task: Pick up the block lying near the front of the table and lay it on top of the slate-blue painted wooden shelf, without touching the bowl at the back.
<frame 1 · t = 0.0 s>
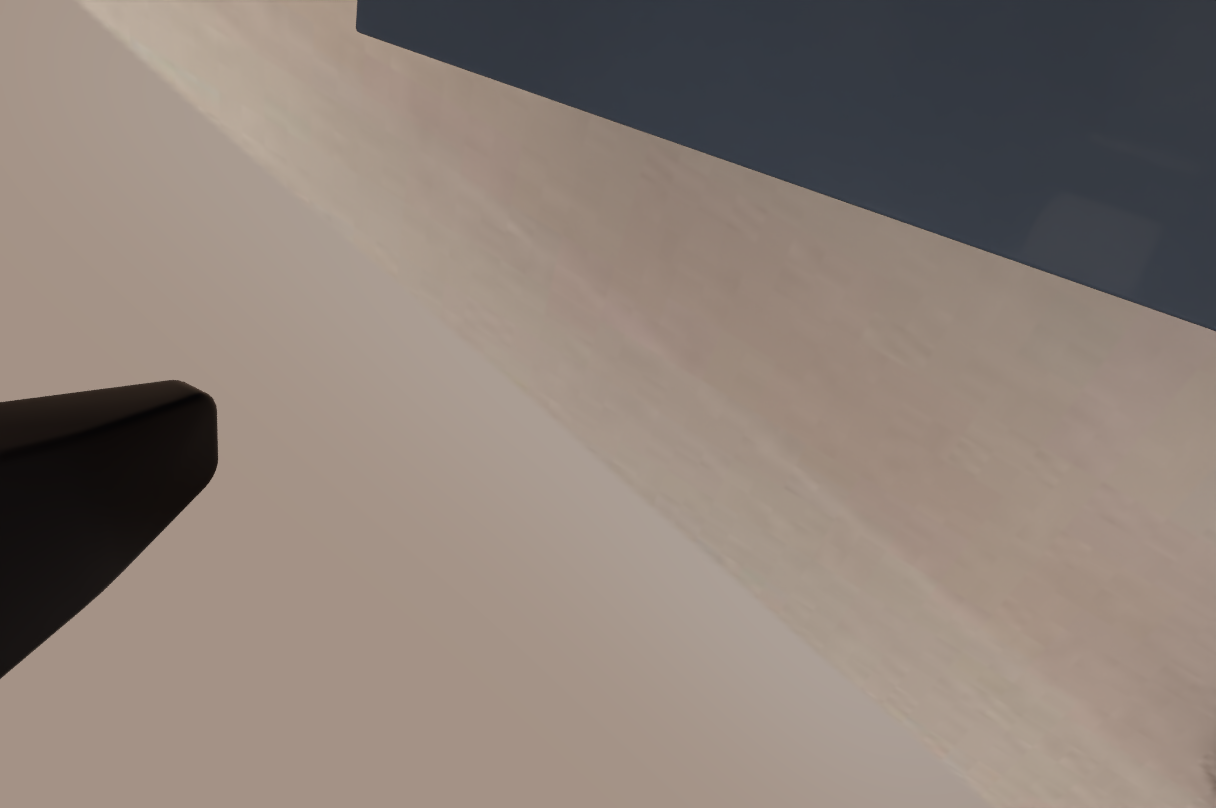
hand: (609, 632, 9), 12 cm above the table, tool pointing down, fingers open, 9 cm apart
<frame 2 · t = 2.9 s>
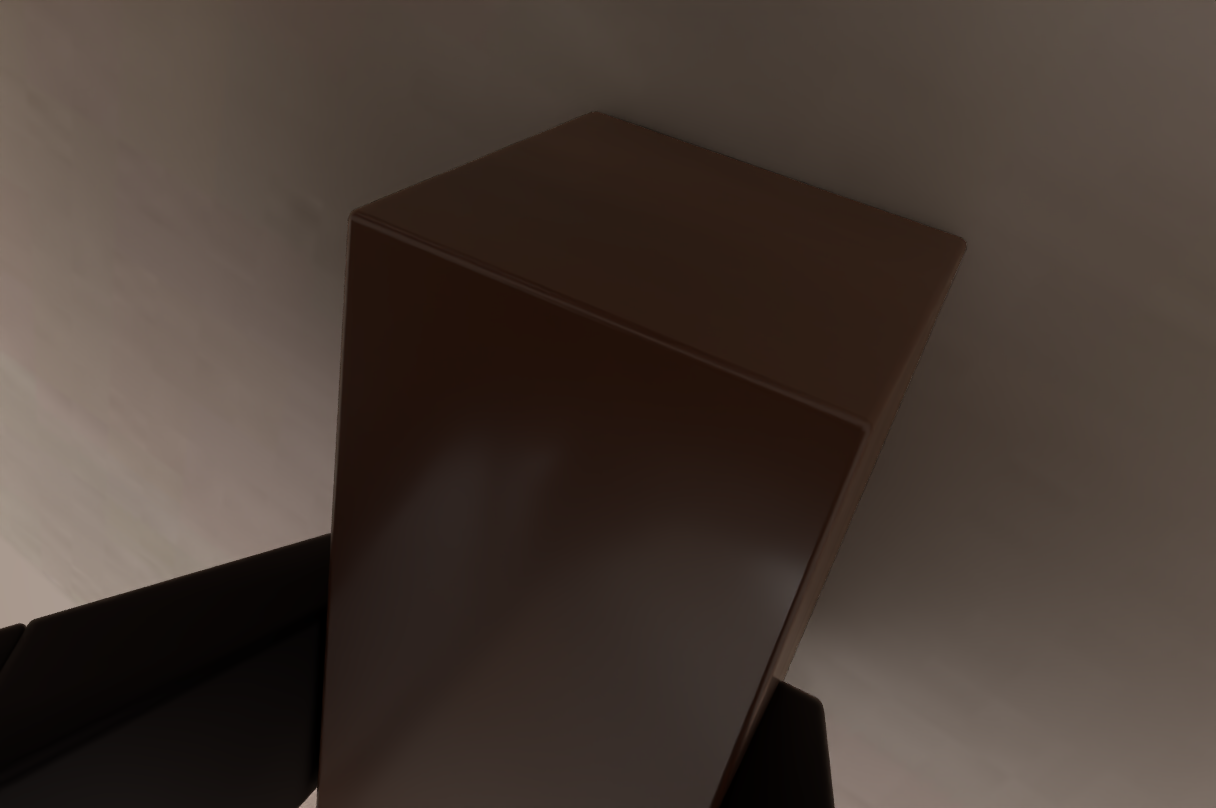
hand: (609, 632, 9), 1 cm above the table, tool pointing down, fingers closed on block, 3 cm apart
block: (654, 567, 9), on the table, touching gripper
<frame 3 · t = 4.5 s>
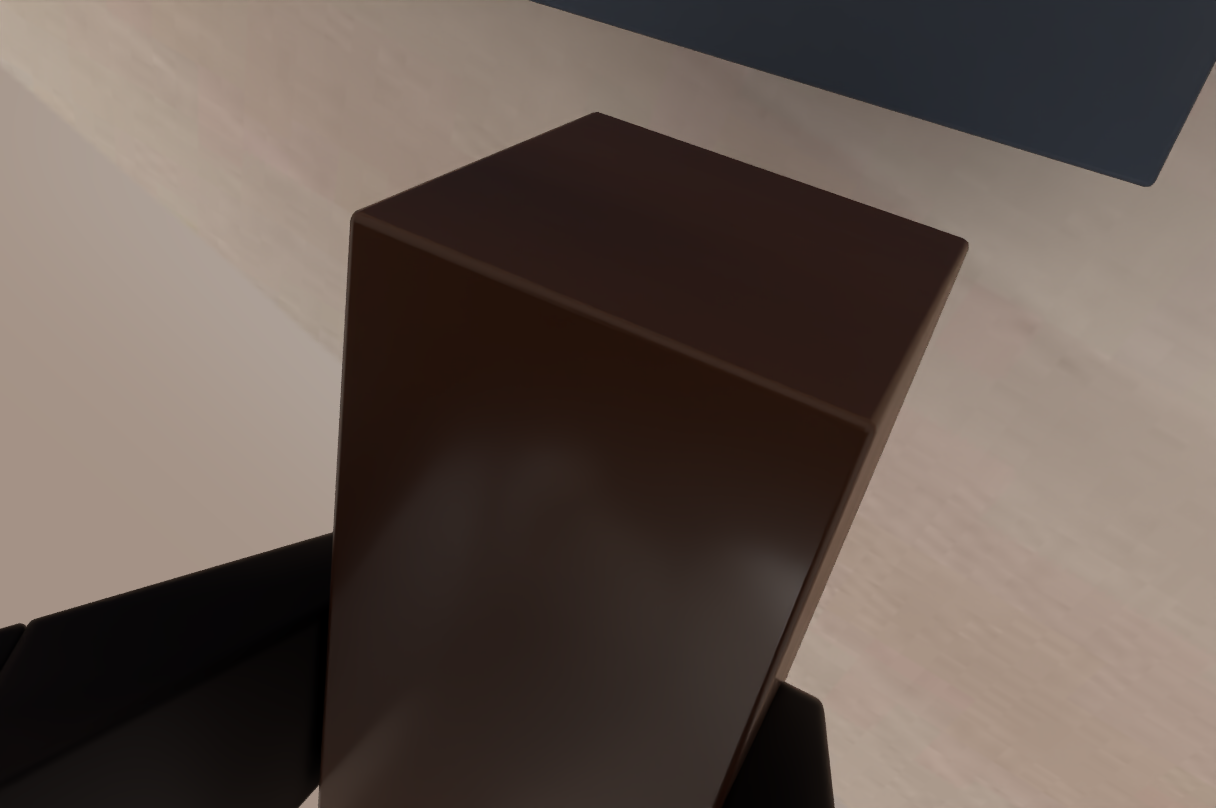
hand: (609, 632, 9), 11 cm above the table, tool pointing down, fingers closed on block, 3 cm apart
block: (656, 567, 9), point 10 cm above the table, touching gripper
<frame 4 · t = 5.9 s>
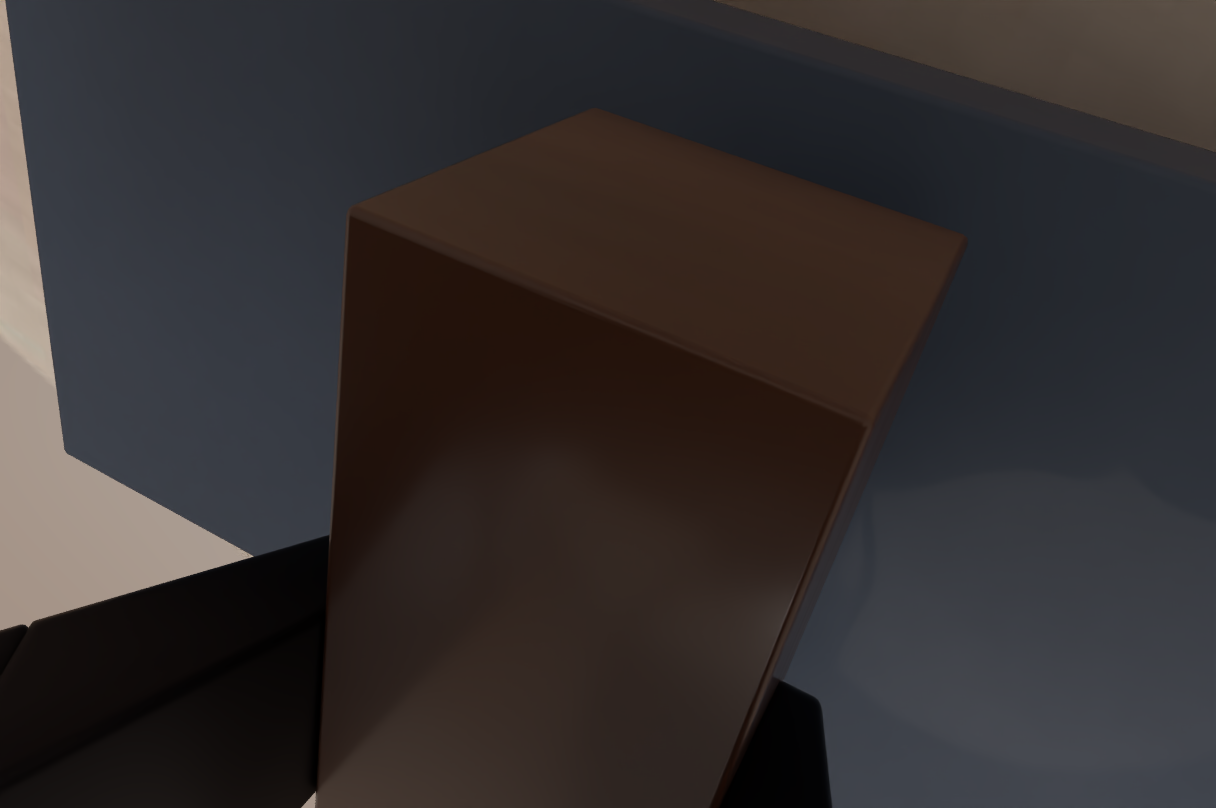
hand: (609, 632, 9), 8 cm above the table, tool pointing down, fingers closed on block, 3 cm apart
block: (654, 565, 9), point 7 cm above the table, touching gripper
shelf: (845, 301, 15), on the table
when the fingers open (7 cm above the table, at t = 6.6 s): block stays where it is, resting on shelf.
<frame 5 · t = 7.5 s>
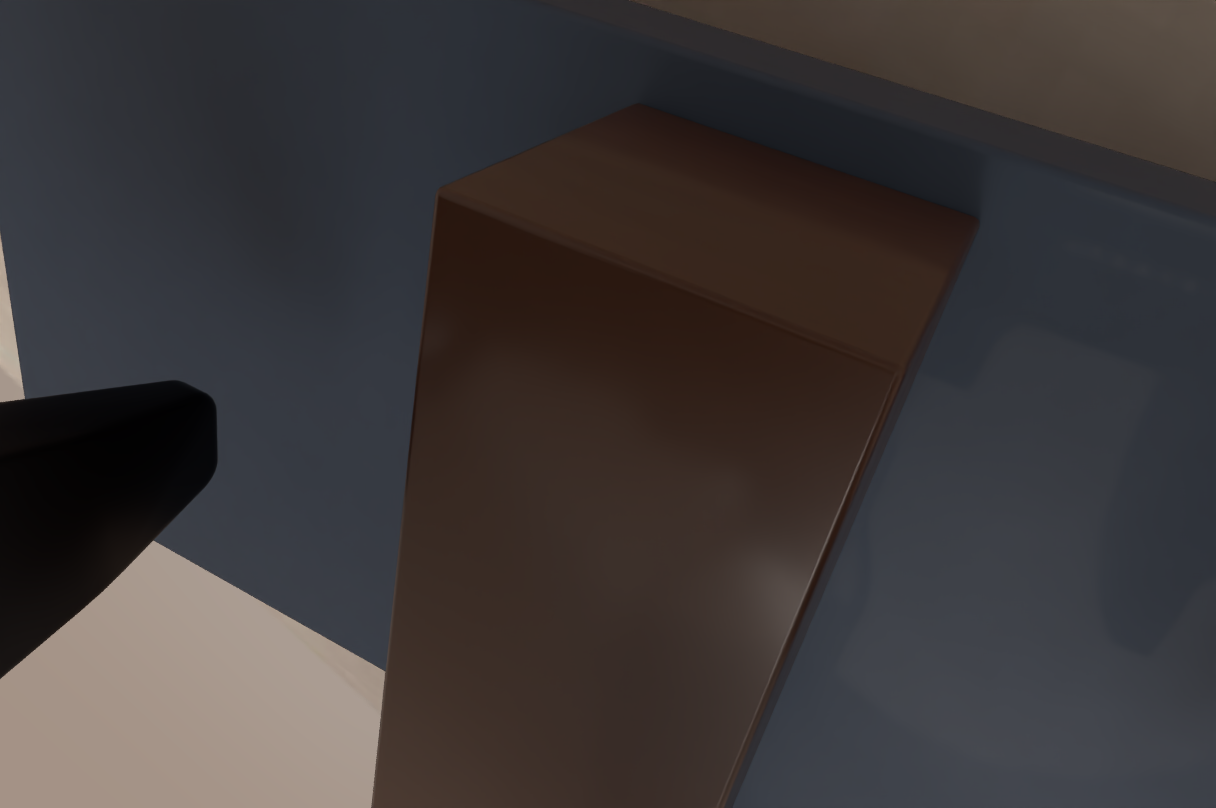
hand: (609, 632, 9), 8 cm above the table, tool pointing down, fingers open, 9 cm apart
block: (685, 529, 10), point 6 cm above the table, touching shelf
shelf: (834, 321, 15), on the table
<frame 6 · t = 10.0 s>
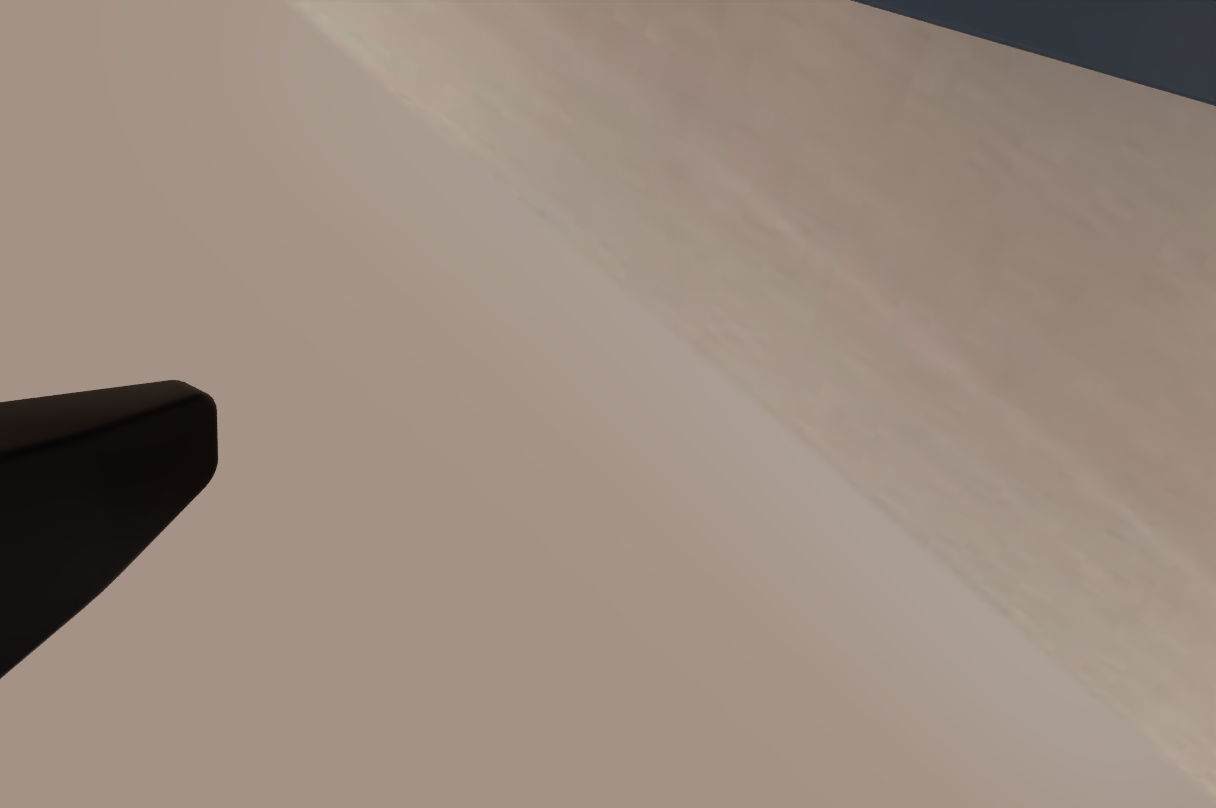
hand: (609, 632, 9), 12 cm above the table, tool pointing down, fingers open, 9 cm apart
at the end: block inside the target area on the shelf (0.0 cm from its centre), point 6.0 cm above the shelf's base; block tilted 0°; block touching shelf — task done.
